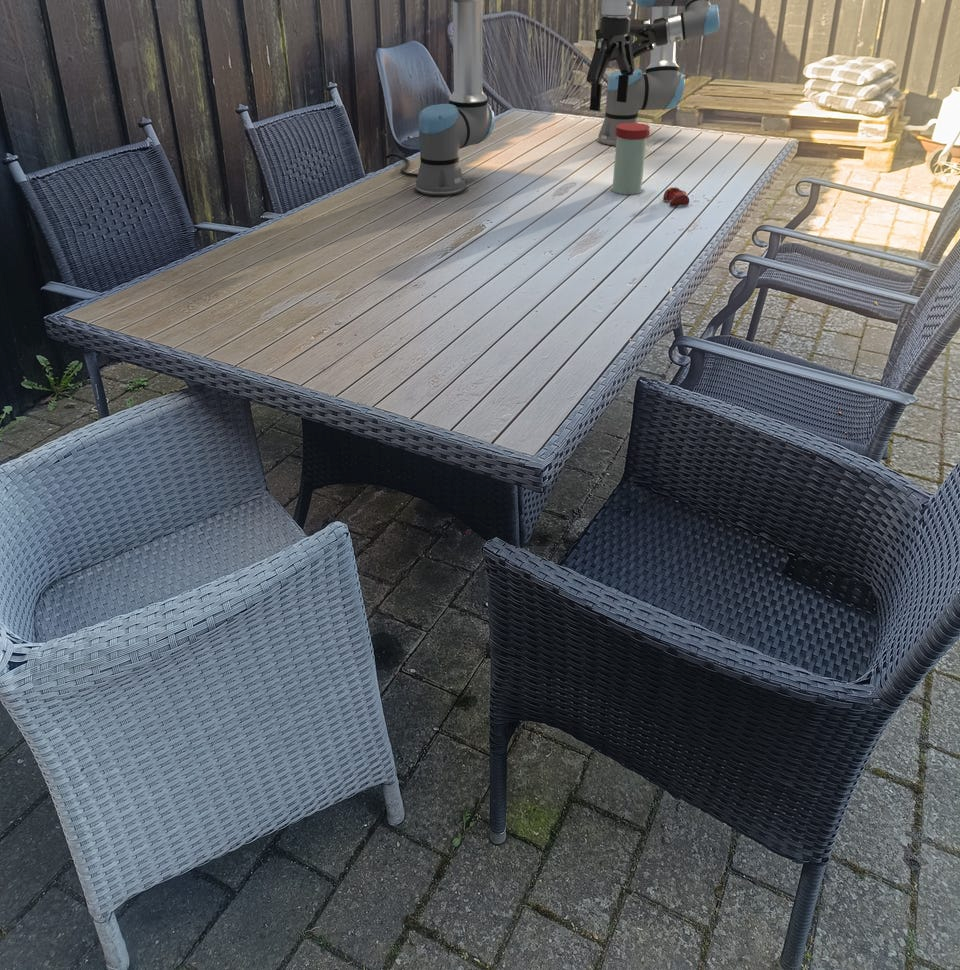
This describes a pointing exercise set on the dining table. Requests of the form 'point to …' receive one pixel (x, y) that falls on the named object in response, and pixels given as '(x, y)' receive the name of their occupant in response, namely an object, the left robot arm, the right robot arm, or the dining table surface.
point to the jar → (629, 165)
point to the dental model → (676, 197)
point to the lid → (632, 131)
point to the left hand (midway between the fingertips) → (608, 106)
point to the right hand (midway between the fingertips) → (599, 47)
